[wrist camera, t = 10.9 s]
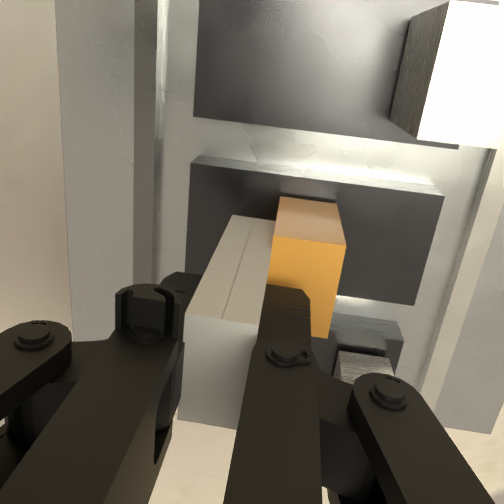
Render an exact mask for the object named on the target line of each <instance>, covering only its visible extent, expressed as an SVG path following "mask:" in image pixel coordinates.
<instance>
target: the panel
mask: <svg viewBox="0 0 504 504" xmlns="http://www.w3.org/2000/svg"><path fill="white" fill-rule="evenodd" d="M55 13H56V32H57V50H58V68H59V87H60V105H61V124H62V142H63V160H64V179H65V197H66V216H67V234H68V252H69V271H70V289H71V308H72V326H73V342H77V341H97V340H105V339H108V338H109V337H110V335H111V334H112V332H113V331H114V330H115V293H117V292H118V291H119V290H121V289H122V288H125V287H128V286H131V285H135V284H144V283H147V284H160V283H161V281H162V280H163V278H165V277H167V276H168V275H170V274H172V273H174V272H176V271H178V272H185V273H191V274H197V275H204V273H205V271H206V269H207V267H208V264H209V262H210V260H211V258H212V256H213V254H214V252H215V250H216V248H217V246H218V244H219V242H220V240H221V237H222V235H223V233H224V231H225V229H226V227H227V225H228V223H229V221H230V219H231V217H232V215H238V216H244V217H251V218H258V219H265V220H271V221H276V217H277V212H278V206H279V201H280V196H282V197H290V198H297V199H305V200H312V201H320V202H327V203H335V204H337V207H338V211H339V216H340V220H341V224H342V229H343V233H344V237H345V242H346V250H345V255H344V260H343V265H342V270H341V275H340V280H339V285H338V289H337V294H336V299H335V304H334V309H333V314H332V319H331V324H330V329H329V334H328V339H326V338H320V337H313V336H311V351H312V352H313V353H314V355H315V358H316V361H317V365H318V366H319V367H320V368H321V369H322V370H323V371H325V372H326V373H327V374H329V375H331V376H333V377H335V378H337V379H339V380H342V381H344V382H347V383H349V384H352V385H353V384H354V382H355V380H356V378H358V377H360V376H361V375H363V374H367V373H383V374H389V375H392V376H394V377H397V378H400V379H402V380H403V381H405V382H407V383H408V384H410V385H411V386H413V387H414V388H415V389H416V390H417V391H418V392H419V393H420V394H421V395H422V397H423V398H424V400H425V401H426V403H427V404H428V406H429V407H430V409H431V410H432V412H433V413H434V415H435V416H436V418H437V419H438V420H439V422H440V423H441V425H442V426H443V427H447V428H453V429H459V430H466V431H472V432H478V433H485V434H491V432H492V429H493V427H494V424H495V422H496V420H497V417H498V415H499V412H500V410H501V407H502V405H503V402H504V0H55Z"/></svg>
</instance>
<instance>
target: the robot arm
mask: <svg viewBox="0 0 504 504" xmlns="http://www.w3.org/2000/svg"><path fill="white" fill-rule="evenodd" d="M275 223H276V221H271V220H265V219H258V218H251V217H244V216H238V215H232V217H231V219H230V221H229V223H228V225H227V227H226V229H225V231H224V233H223V235H222V237H221V240H220V242H219V244H218V246H217V248H216V250H215V252H214V254H213V256H212V258H211V260H210V262H209V264H208V267H207V269H206V271H205V273H204V275H197V274H191V273H185V272H178V271H176V272H174V273H172V274H170V275H168V276H167V277H165V278H163V280H162V281H161V283H160V284H147V283H144V284H135V285H131V286H128V287H125V288H122V289H121V290H119V291H118V292H117V293H115V330H114V331H113V332H112V334H111V335H110V337H109V338H108V339H105V340H97V341H77V342H72V337H71V332H70V331H69V329H68V327H66V326H64V325H62V324H60V323H58V322H52V321H45V320H41V321H39V320H36V321H30V322H26V323H21V324H18V325H16V326H14V327H11V328H9V329H7V330H5V331H4V332H2V333H0V421H1V420H2V419H3V418H4V419H5V424H4V425H2V426H1V427H0V504H148V502H149V499H150V497H151V494H152V491H153V488H154V485H155V482H156V480H157V477H158V474H159V471H160V468H161V465H162V463H163V460H164V457H165V454H166V451H167V448H168V446H169V443H170V440H171V436H172V424H173V417H174V414H175V411H176V409H177V406H178V416H177V419H178V420H184V421H190V422H196V423H201V424H207V425H213V426H219V427H224V428H230V429H236V430H237V432H236V438H235V443H234V448H233V454H232V459H231V464H230V470H229V475H228V480H227V486H226V491H225V496H224V502H223V504H322V486H323V487H325V488H327V491H328V499H329V502H330V504H495V503H494V501H493V500H492V498H491V497H490V495H489V494H488V492H487V491H486V489H485V488H484V487H483V485H482V484H481V482H480V481H479V479H478V478H477V476H476V475H475V473H474V472H473V470H472V469H471V467H470V466H469V465H468V463H467V462H466V460H465V459H464V457H463V456H462V454H461V453H460V451H459V450H458V448H457V447H456V445H455V444H454V442H453V441H452V440H451V438H450V437H449V435H448V434H447V432H446V431H445V429H444V428H443V426H442V425H441V423H440V422H439V420H438V419H437V418H436V416H435V415H434V413H433V412H432V410H431V409H430V407H429V406H428V404H427V403H426V401H425V400H424V398H423V397H422V395H421V394H420V393H419V392H418V391H417V390H416V389H415V388H414V387H413V386H411V385H410V384H408V383H407V382H405V381H403V380H402V379H400V378H397V377H394V376H392V375H389V374H383V373H367V374H363V375H361V376H360V377H358V378H356V380H355V382H354V384H353V385H352V384H349V383H347V382H344V381H342V380H339V379H337V378H335V377H333V376H331V375H329V374H327V373H326V372H325V371H323V370H322V369H321V368H320V367H319V366H318V365H317V361H316V358H315V355H314V353H313V352H312V351H311V321H310V319H311V312H310V299H309V297H308V296H307V295H306V293H305V292H304V291H303V290H302V289H297V288H290V287H284V286H277V285H271V284H267V279H268V272H269V265H270V258H271V252H272V241H273V234H274V229H275Z"/></svg>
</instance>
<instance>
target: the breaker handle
mask: <svg viewBox="0 0 504 504" xmlns="http://www.w3.org/2000/svg"><path fill="white" fill-rule="evenodd" d="M345 250H346V242H345V237H344V233H343V229H342V224H341V220H340V216H339V211H338V207H337V204H335V203H327V202H320V201H312V200H305V199H297V198H290V197H282V196H280V201H279V206H278V212H277V217H276V223H275V229H274V234H273V241H272V252H271V258H270V265H269V272H268V279H267V284H271V285H277V286H284V287H290V288H297V289H302V290H303V291H304V292H305V293H306V295H307V296H308V297H309V299H310V312H311V319H310V321H311V336H313V337H320V338H326V339H328V334H329V329H330V324H331V319H332V314H333V309H334V304H335V299H336V294H337V289H338V285H339V280H340V275H341V270H342V265H343V260H344V255H345Z"/></svg>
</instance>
